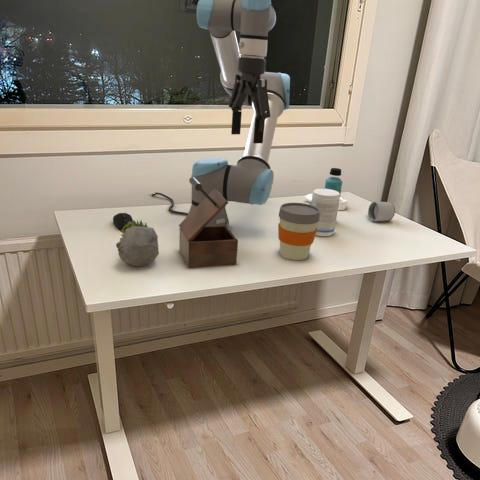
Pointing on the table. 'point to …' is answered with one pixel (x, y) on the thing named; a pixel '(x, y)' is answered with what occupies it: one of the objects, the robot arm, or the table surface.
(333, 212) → the supplement tub
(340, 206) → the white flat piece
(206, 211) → the bin lid
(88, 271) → the table surface
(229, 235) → the bin
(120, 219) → the gaming mouse
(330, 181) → the beverage bottle
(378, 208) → the ceramic mug
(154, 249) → the potted plant
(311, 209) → the reusable coffee cup
